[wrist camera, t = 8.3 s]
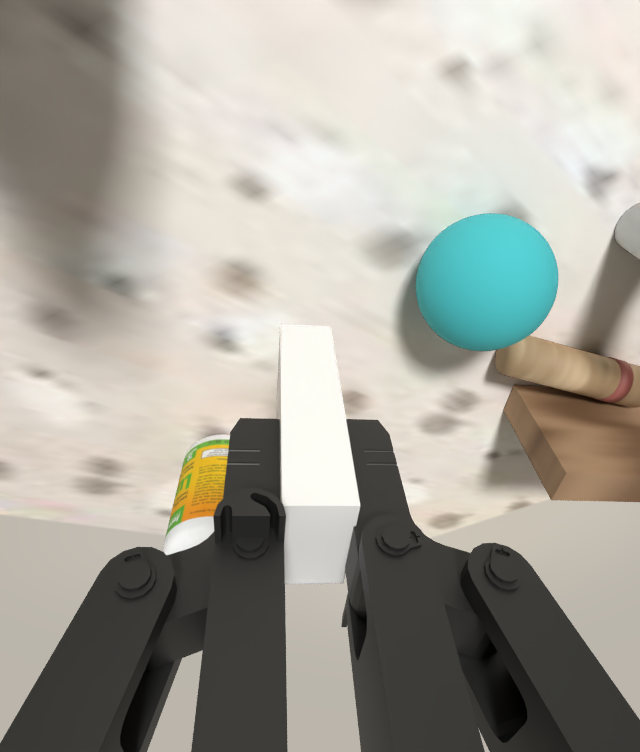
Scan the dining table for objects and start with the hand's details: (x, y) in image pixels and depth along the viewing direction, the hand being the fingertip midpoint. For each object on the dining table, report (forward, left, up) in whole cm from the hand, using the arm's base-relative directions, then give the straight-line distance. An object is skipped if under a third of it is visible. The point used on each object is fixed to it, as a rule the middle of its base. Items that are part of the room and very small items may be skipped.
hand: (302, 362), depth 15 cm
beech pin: (+12, -5, -9) cm, 16 cm away
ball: (+8, 0, -7) cm, 11 cm away
